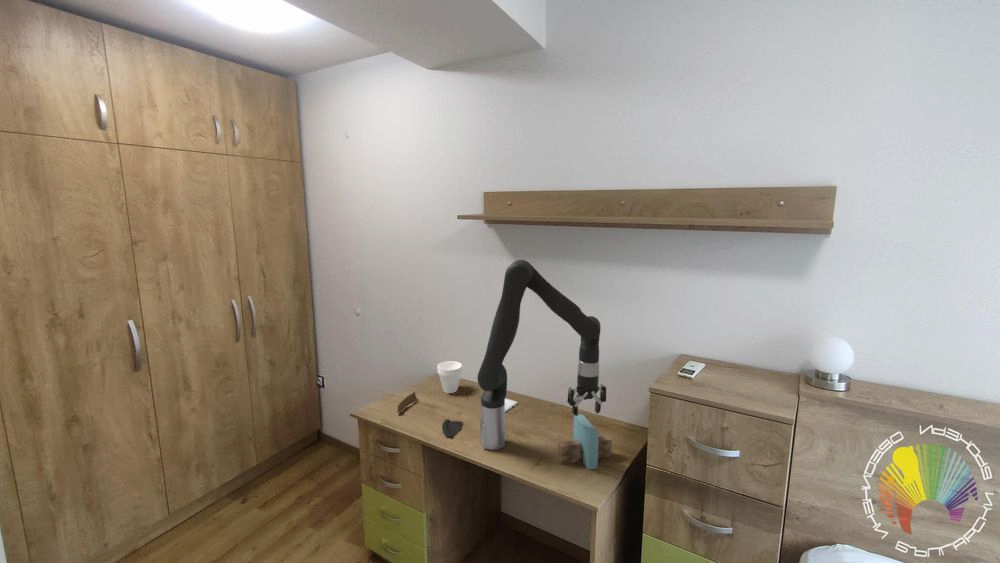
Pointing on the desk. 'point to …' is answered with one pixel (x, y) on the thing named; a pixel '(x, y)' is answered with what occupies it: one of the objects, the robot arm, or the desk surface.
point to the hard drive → (509, 404)
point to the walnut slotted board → (573, 452)
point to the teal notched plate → (586, 440)
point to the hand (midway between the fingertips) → (586, 413)
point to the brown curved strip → (407, 401)
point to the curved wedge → (451, 428)
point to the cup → (450, 375)
